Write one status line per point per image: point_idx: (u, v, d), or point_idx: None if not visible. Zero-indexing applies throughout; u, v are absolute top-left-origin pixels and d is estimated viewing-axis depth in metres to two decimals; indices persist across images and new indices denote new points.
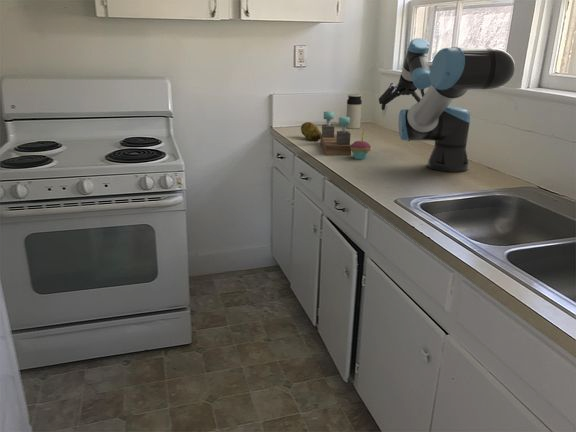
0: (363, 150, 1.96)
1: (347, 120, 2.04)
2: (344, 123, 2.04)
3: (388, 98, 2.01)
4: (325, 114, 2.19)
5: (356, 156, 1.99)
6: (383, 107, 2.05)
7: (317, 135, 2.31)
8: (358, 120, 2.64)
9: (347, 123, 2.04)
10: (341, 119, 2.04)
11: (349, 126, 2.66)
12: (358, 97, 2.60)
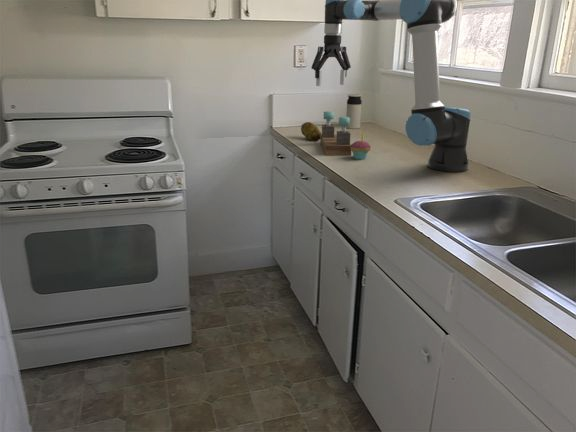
0: (363, 150, 1.96)
1: (347, 120, 2.04)
2: (344, 123, 2.04)
3: (320, 63, 2.09)
4: (325, 114, 2.19)
5: (356, 156, 1.99)
6: (317, 74, 2.10)
7: (317, 135, 2.31)
8: (358, 120, 2.64)
9: (347, 123, 2.04)
10: (341, 119, 2.04)
11: (349, 126, 2.66)
12: (358, 97, 2.60)
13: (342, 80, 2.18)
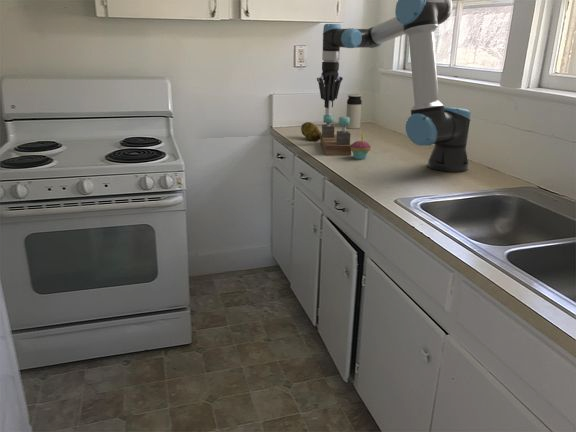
0: (363, 150, 1.96)
1: (347, 120, 2.04)
2: (344, 123, 2.04)
3: (326, 93, 2.16)
4: (325, 117, 2.19)
5: (356, 156, 1.99)
6: (327, 104, 2.18)
7: (317, 135, 2.31)
8: (358, 120, 2.64)
9: (347, 123, 2.04)
10: (341, 119, 2.04)
11: (349, 126, 2.66)
12: (358, 97, 2.60)
13: None
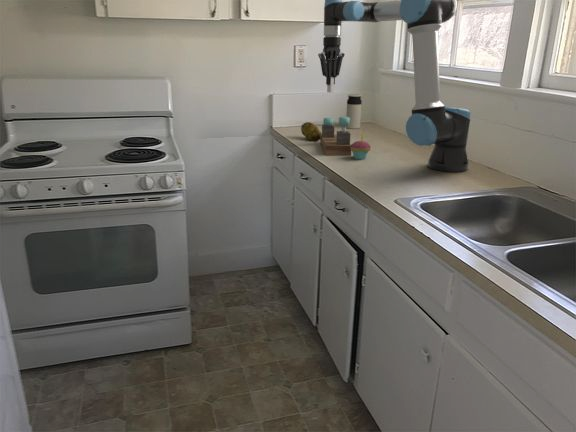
0: (363, 150, 1.96)
1: (347, 120, 2.04)
2: (344, 123, 2.04)
3: (328, 69, 2.12)
4: (325, 121, 2.20)
5: (356, 156, 1.99)
6: (329, 81, 2.13)
7: (317, 135, 2.31)
8: (358, 120, 2.64)
9: (347, 123, 2.04)
10: (341, 119, 2.04)
11: (349, 126, 2.66)
12: (358, 97, 2.60)
13: None
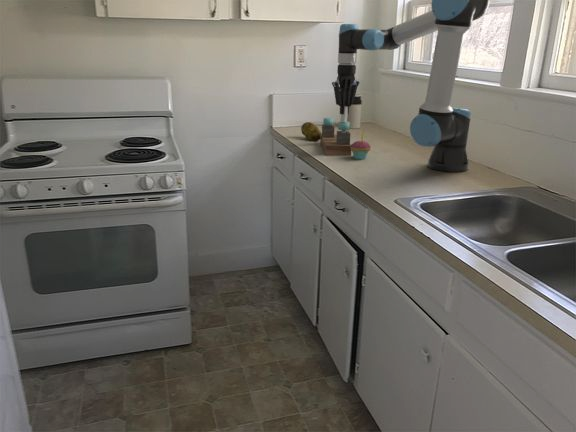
0: (363, 150, 1.96)
1: (347, 125, 2.04)
2: (344, 128, 2.05)
3: (341, 98, 2.01)
4: (325, 121, 2.20)
5: (356, 156, 1.99)
6: (342, 110, 2.03)
7: (317, 135, 2.31)
8: (358, 120, 2.64)
9: (347, 128, 2.05)
10: (341, 124, 2.04)
11: (349, 126, 2.66)
12: (358, 97, 2.60)
13: None
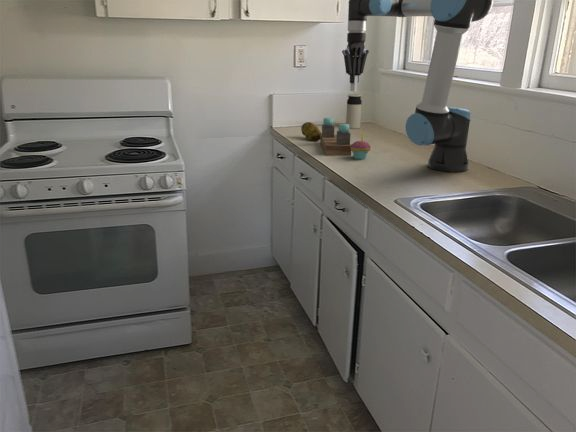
0: (363, 150, 1.96)
1: (347, 127, 2.05)
2: (344, 130, 2.05)
3: (352, 67, 2.01)
4: (325, 121, 2.20)
5: (356, 156, 1.99)
6: (352, 79, 2.03)
7: (317, 135, 2.31)
8: (358, 120, 2.64)
9: (347, 130, 2.05)
10: (341, 126, 2.05)
11: (349, 126, 2.66)
12: (358, 97, 2.60)
13: None
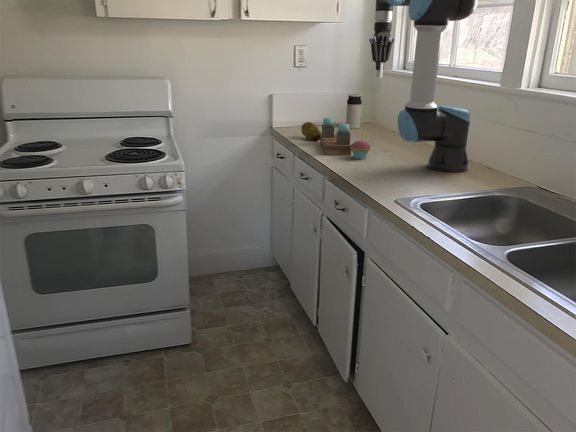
0: (363, 150, 1.96)
1: (347, 127, 2.05)
2: (344, 130, 2.05)
3: (378, 55, 2.14)
4: (325, 121, 2.20)
5: (356, 156, 1.99)
6: (378, 66, 2.16)
7: (317, 135, 2.31)
8: (358, 120, 2.64)
9: (347, 130, 2.05)
10: (341, 126, 2.05)
11: (349, 126, 2.66)
12: (358, 97, 2.60)
13: None
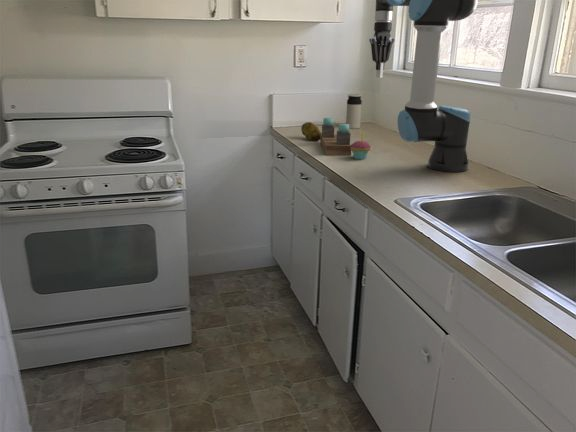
0: (363, 150, 1.96)
1: (347, 127, 2.05)
2: (344, 130, 2.05)
3: (378, 55, 2.14)
4: (325, 121, 2.20)
5: (356, 156, 1.99)
6: (378, 66, 2.16)
7: (317, 135, 2.31)
8: (358, 120, 2.64)
9: (347, 130, 2.05)
10: (341, 126, 2.05)
11: (349, 126, 2.66)
12: (358, 97, 2.60)
13: None
